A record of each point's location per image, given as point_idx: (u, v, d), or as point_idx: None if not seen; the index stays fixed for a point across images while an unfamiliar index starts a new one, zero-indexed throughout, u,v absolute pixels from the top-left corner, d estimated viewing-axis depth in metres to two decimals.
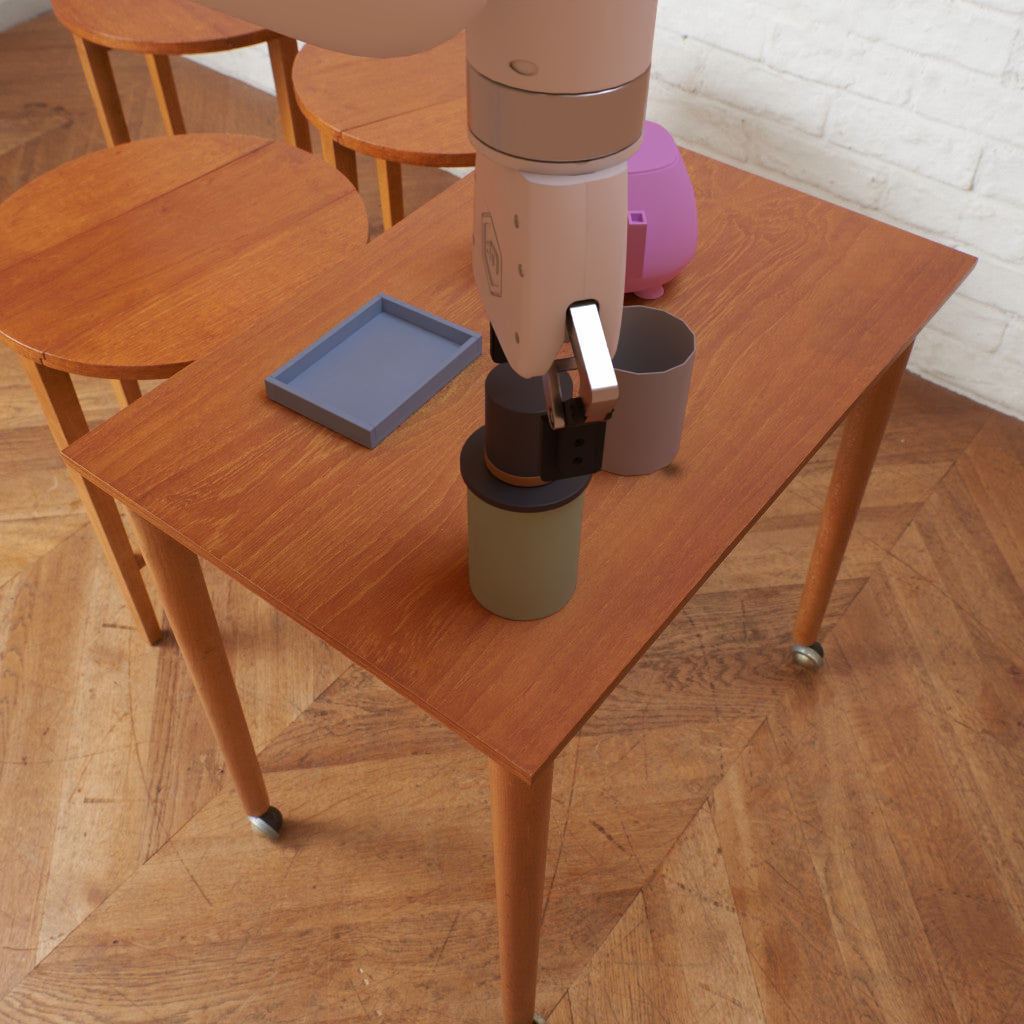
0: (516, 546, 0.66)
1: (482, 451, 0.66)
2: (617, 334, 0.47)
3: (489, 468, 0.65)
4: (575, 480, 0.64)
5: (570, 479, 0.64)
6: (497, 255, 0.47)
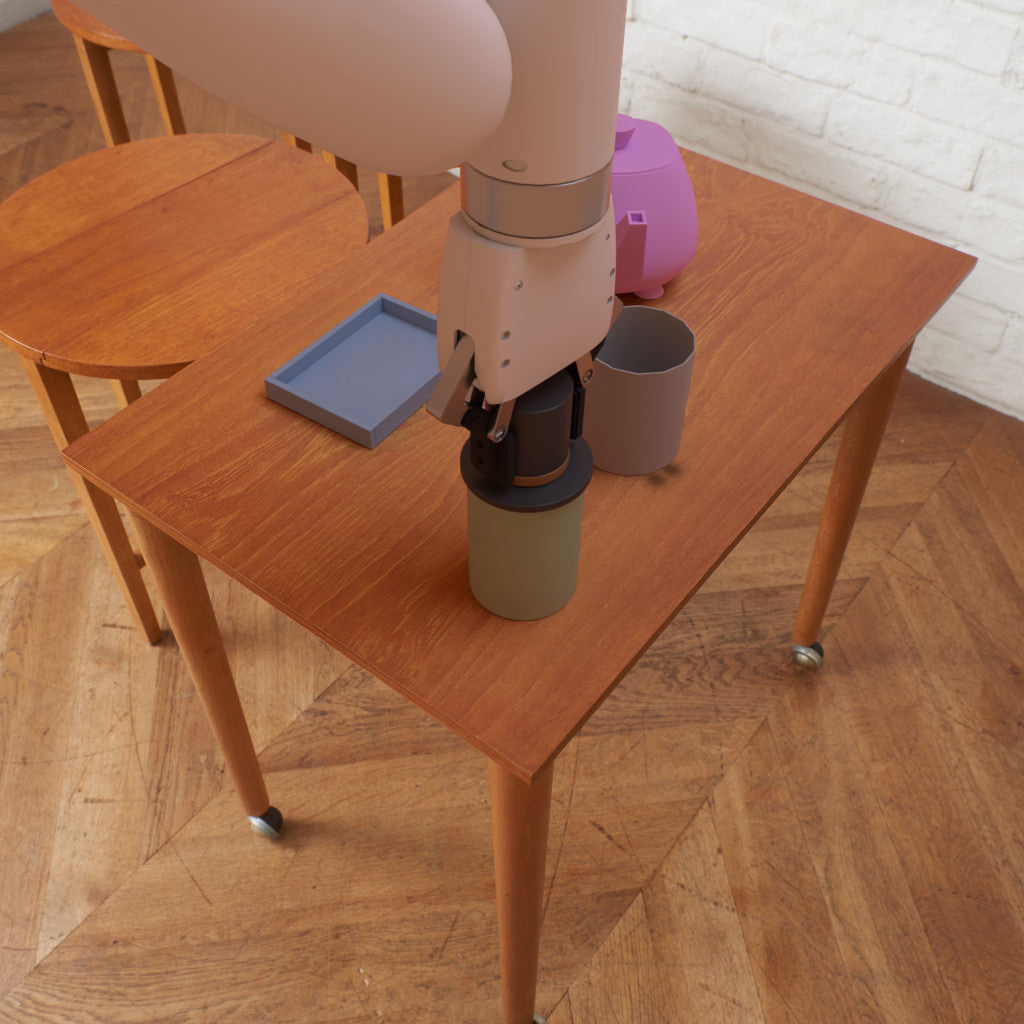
0: (516, 546, 0.66)
1: None
2: (491, 381, 0.55)
3: None
4: (575, 480, 0.64)
5: (570, 479, 0.64)
6: None
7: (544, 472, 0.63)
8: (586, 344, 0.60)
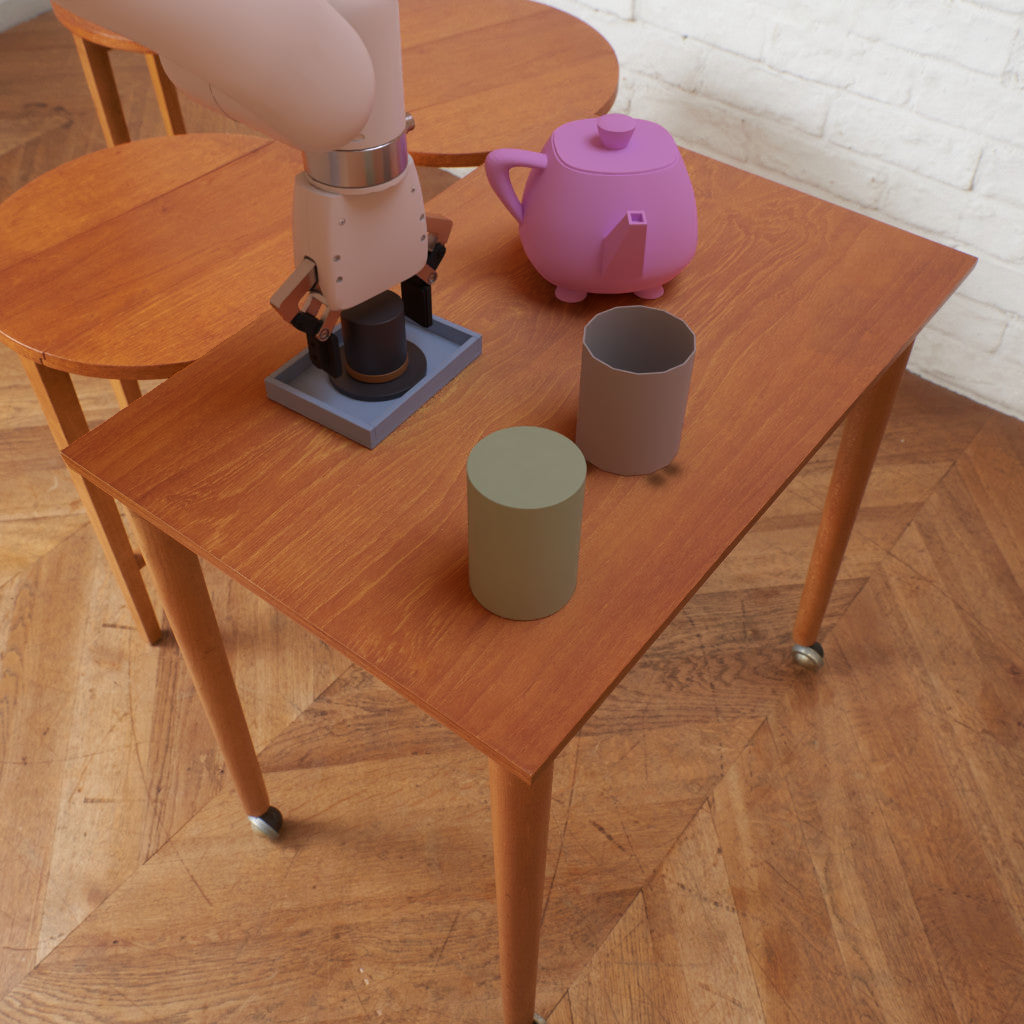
0: (516, 546, 0.66)
1: (345, 359, 0.89)
2: (330, 292, 0.78)
3: (347, 370, 0.88)
4: (410, 379, 0.88)
5: (407, 378, 0.88)
6: None
7: (386, 372, 0.86)
8: (407, 270, 0.82)
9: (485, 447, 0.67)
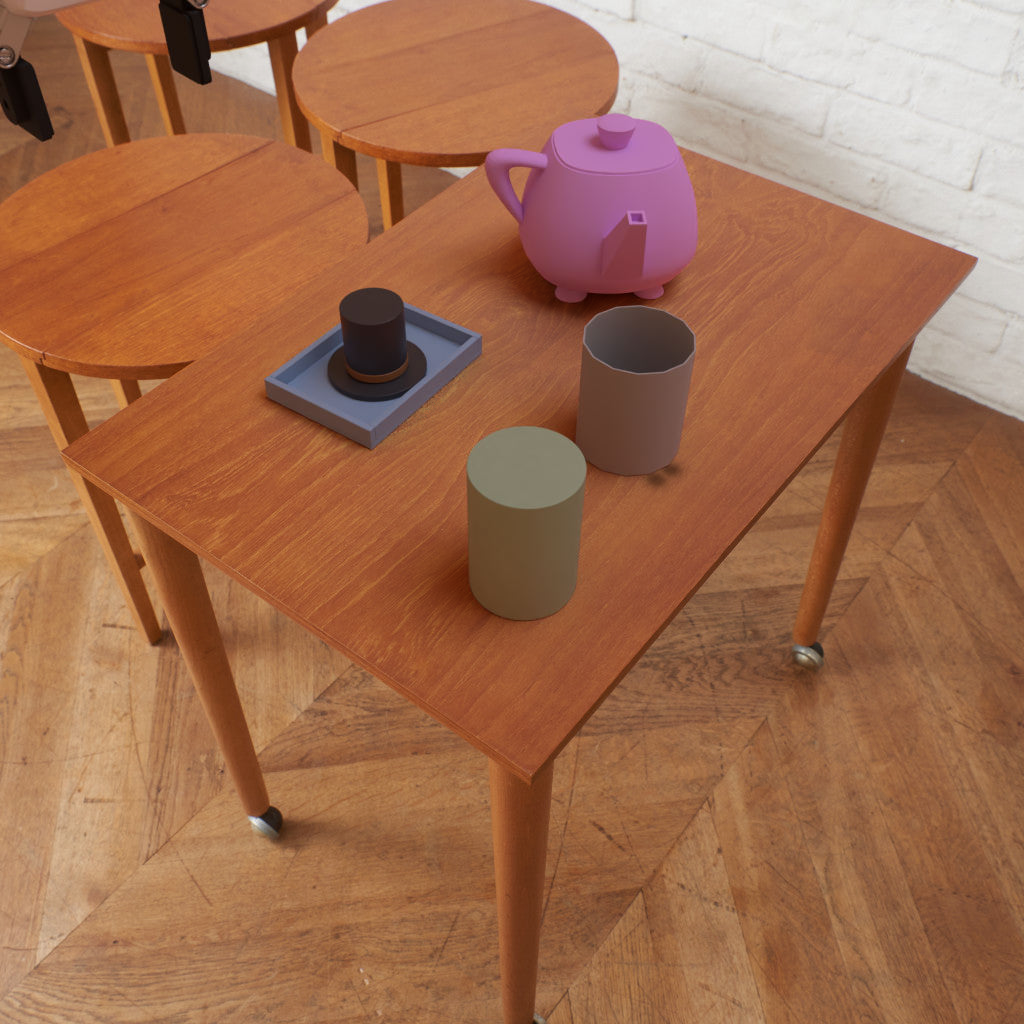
0: (516, 546, 0.66)
1: (345, 359, 0.89)
2: None
3: (347, 370, 0.88)
4: (410, 379, 0.88)
5: (407, 378, 0.88)
6: None
7: (386, 372, 0.86)
8: None
9: (485, 447, 0.67)
